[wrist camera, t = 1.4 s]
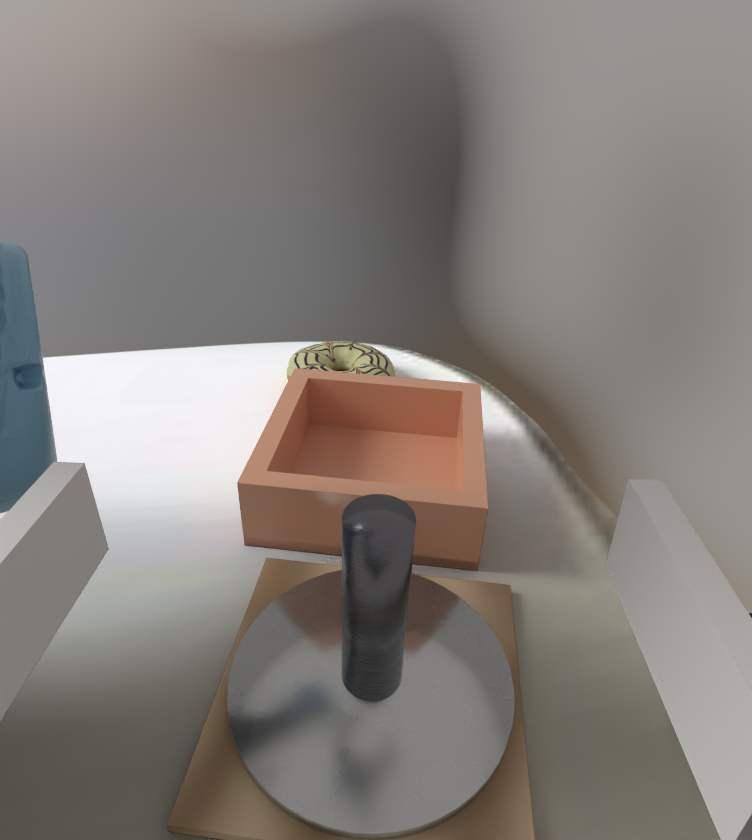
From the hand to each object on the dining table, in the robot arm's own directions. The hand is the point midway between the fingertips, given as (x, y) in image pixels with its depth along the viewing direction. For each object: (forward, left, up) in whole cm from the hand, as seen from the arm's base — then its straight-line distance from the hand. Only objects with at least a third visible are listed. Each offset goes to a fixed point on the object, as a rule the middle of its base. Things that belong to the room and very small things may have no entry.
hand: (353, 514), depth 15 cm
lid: (0, +8, -19) cm, 21 cm away
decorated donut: (-7, +40, -20) cm, 45 cm away
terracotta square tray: (-2, +26, -20) cm, 32 cm away
